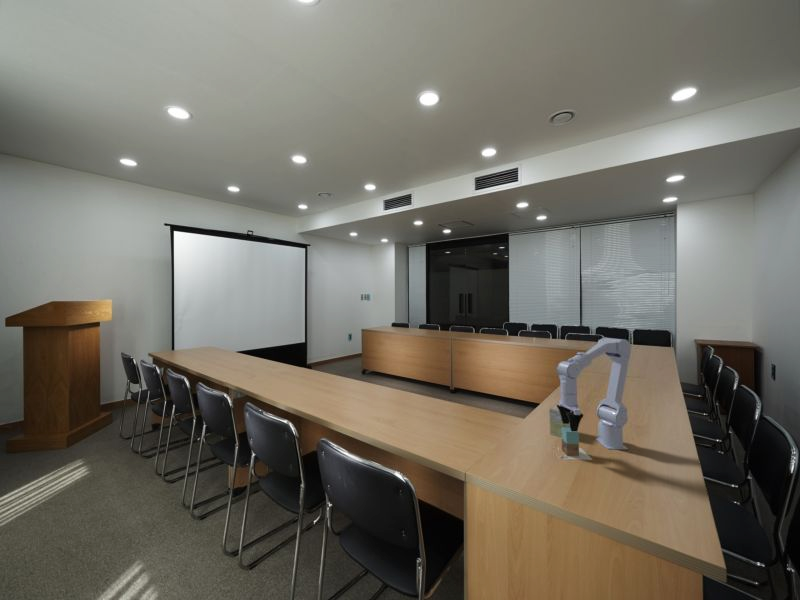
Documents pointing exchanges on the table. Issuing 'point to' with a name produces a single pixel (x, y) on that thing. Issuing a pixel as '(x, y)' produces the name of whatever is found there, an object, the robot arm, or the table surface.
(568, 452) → the brick walnut
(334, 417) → the table surface
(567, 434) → the brick teal
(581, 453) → the baseplate
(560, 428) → the box
